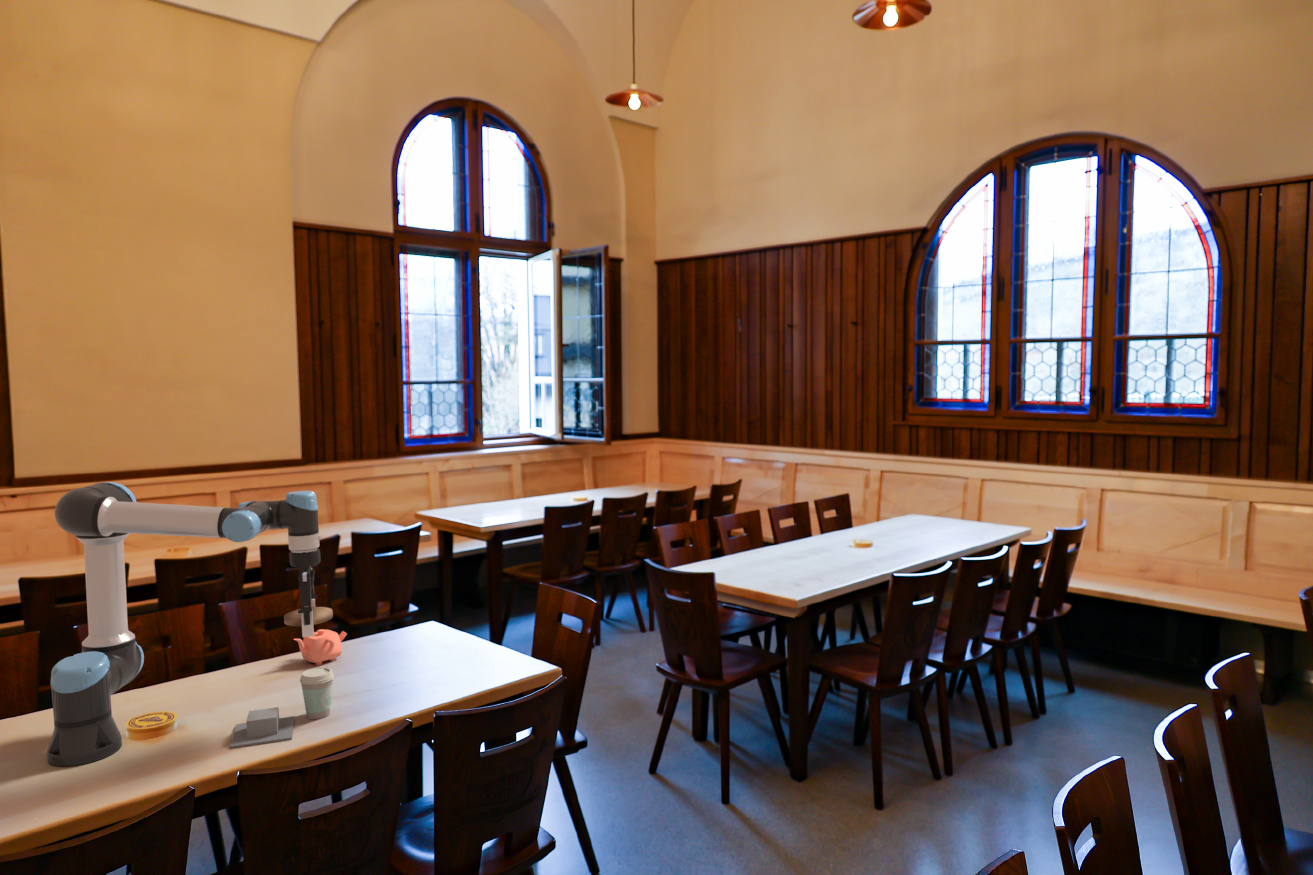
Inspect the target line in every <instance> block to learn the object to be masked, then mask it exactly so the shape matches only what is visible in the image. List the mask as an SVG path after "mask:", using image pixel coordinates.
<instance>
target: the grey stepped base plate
mask: <svg viewBox="0 0 1313 875" xmlns="http://www.w3.org/2000/svg"><path fill="white" fill-rule="evenodd" d="M279 709H280V708H279V706H276V707H269V708H262V709H255V710H249V711H248V714H247V717H246V720H245V721H246V722H243V723H236V724H235V728H234V732H233V734H232V738H231V740H230V741H231V742H230V744H229V749H230V750H232V749H236V748H237V749H238V748H245V747H251V746H258V745H265V744H270V743H271V744H272V743H278V742H284V741H292V739H293V733H294V732H293V731H294V726H295V715H294V716H293V715H292V716H288V717H287V716H286V717H280V710H279Z"/></svg>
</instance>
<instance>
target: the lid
mask: <svg viewBox="0 0 1313 875" xmlns="http://www.w3.org/2000/svg"><path fill="white" fill-rule="evenodd" d="M300 609H301V608H299V609H294V610H292V611H289V612H286V613H285V614H284V615H283V623H284V624H285V625H286V626H290V627H302V621H301V613H298V610H300ZM312 612H313V626H314V625H319V624H322V623H326V622H328V621H330V620H332V619H333V617H334V613H333V609H332V608H331V607H326V606H315V607H312Z"/></svg>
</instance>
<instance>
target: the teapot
mask: <svg viewBox="0 0 1313 875" xmlns="http://www.w3.org/2000/svg"><path fill="white" fill-rule="evenodd" d="M347 635H348V633H347V632H345V631H344V630H342V631H341V632H340V633H339V634H338V632H336V631H333V630H330V629H318V630H316V631H314V636H310V637H303V640H302V639H301V638H294V639H293V640H294V641H296V642H297V644H298V646H299V647H298V648H299V651H300V653H301V656H302V658H303V659H304V661H305V660H306V661H307V662H308V663H313V664H314V663H315V666H321V665H323V662H325V661H328V660H329V661H330V662H335V661H337V657H340V656H341V654H342V652H343V651H342V649H343V648H342V642H343V640H344V639H345V638H346V636H347Z"/></svg>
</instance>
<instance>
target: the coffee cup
mask: <svg viewBox="0 0 1313 875" xmlns="http://www.w3.org/2000/svg"><path fill="white" fill-rule="evenodd" d="M334 678H335V675H334V672H333V670H332V668H330V667H328V666H327V667H325V666H319V667H318V666H317V667H313V668H309V669H307V670H304V671H303V672H301V676H300V679H299V683H300V685H301V690H302V696H303V701H304V702H303V703H304V707H305V708H304V709H305V713H306V714H305V715H306V718H307V719H310V720H320V719H323V718H326V717H327V718H328V716H329V715H330V714H331V705H332V694H333V692H332V691H333V682H334V681H333V680H334Z"/></svg>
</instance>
